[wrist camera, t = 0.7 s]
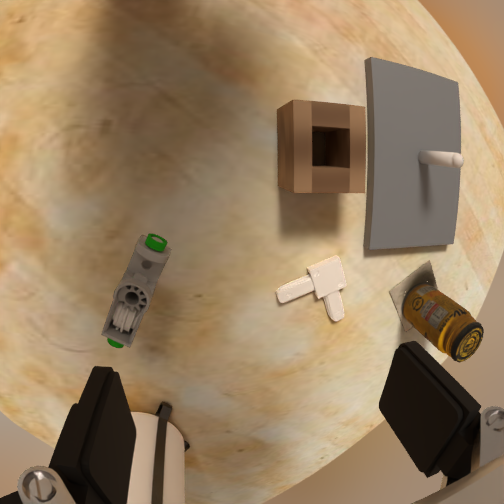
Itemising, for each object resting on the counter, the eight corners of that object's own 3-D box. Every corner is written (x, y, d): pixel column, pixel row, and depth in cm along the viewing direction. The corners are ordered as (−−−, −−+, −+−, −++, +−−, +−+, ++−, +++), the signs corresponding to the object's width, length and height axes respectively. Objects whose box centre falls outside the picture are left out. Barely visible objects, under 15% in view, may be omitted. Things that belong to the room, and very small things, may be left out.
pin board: (364, 60, 28) (405, 40, 20) (450, 83, 30) (494, 77, 22) (363, 246, 35) (402, 270, 27) (446, 241, 37) (487, 260, 29)
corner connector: (290, 334, 38) (294, 341, 36) (270, 280, 35) (273, 285, 34) (348, 309, 38) (353, 315, 36) (334, 253, 35) (340, 258, 34)
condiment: (405, 331, 40) (452, 378, 29) (388, 290, 38) (444, 336, 26) (440, 302, 40) (492, 341, 29) (428, 259, 37) (488, 294, 26)
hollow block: (277, 109, 29) (293, 99, 23) (338, 113, 30) (365, 106, 24) (277, 186, 32) (293, 193, 26) (338, 185, 32) (364, 193, 27)
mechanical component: (183, 222, 31) (174, 251, 22) (146, 303, 33) (128, 355, 24) (157, 209, 30) (137, 233, 21) (122, 292, 32) (97, 341, 23)
